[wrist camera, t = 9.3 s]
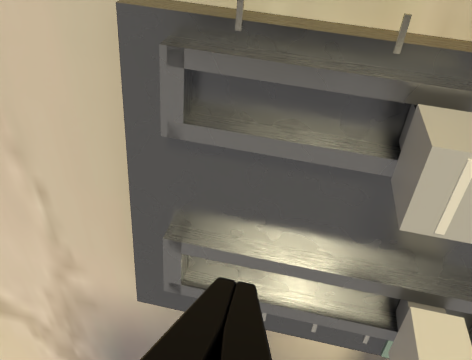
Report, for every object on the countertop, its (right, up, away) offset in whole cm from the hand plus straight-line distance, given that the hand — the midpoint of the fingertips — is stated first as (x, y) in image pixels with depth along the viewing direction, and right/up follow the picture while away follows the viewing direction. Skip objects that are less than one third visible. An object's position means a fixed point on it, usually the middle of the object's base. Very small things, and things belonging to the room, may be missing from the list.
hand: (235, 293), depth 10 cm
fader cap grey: (+8, +5, +8) cm, 12 cm away
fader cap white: (+10, -4, +13) cm, 17 cm away
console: (+6, +1, +13) cm, 14 cm away
